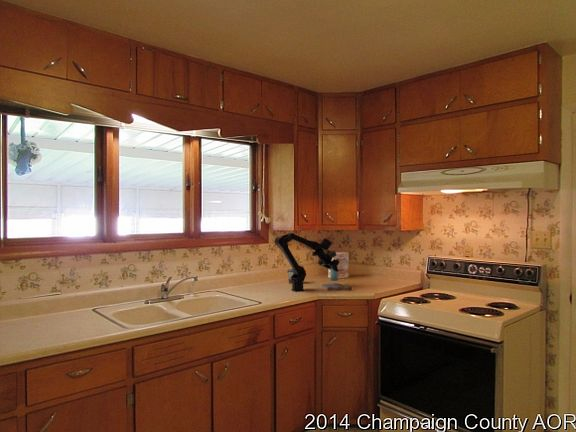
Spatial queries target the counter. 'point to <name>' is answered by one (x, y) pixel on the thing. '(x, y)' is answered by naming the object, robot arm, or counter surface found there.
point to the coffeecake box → (341, 264)
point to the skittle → (333, 275)
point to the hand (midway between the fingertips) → (335, 270)
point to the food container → (290, 273)
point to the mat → (333, 285)
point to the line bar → (339, 288)
